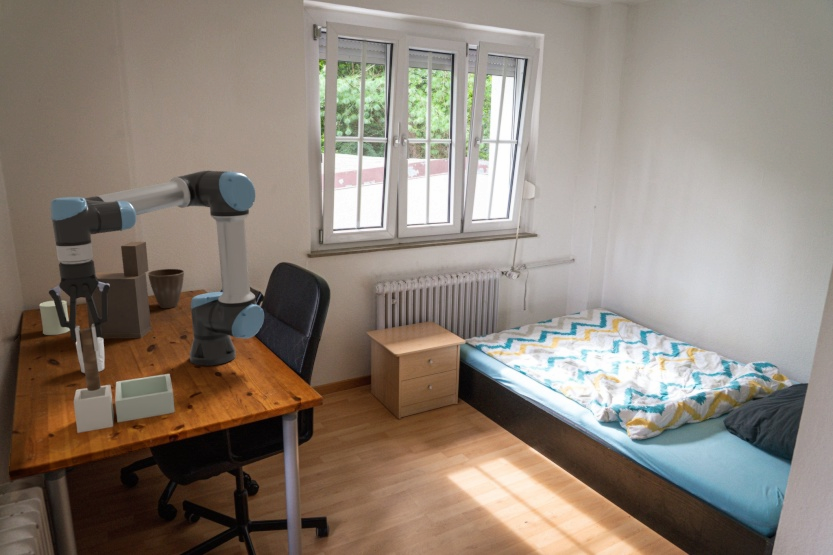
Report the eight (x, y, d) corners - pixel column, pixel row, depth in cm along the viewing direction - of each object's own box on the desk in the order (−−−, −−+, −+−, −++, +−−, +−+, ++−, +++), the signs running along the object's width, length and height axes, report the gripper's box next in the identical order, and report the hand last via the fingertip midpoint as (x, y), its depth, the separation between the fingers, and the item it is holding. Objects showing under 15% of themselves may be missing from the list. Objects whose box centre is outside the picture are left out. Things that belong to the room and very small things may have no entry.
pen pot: (114, 416, 156) (110, 384, 153) (113, 429, 149) (109, 396, 146) (80, 422, 152) (76, 389, 150) (78, 436, 145) (73, 401, 143)
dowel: (100, 385, 150) (92, 327, 146) (100, 389, 148) (92, 331, 144) (87, 387, 149) (79, 329, 145) (87, 391, 146) (78, 332, 143)
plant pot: (180, 300, 271) (177, 267, 268) (191, 307, 260) (188, 272, 257) (147, 305, 262) (143, 271, 258) (156, 312, 251) (153, 277, 247)
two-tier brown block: (155, 326, 232) (147, 241, 224) (141, 337, 218) (132, 248, 210) (107, 326, 231) (97, 241, 223) (89, 338, 217) (78, 247, 209)
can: (68, 333, 222) (64, 304, 219) (40, 336, 219) (36, 306, 216) (72, 326, 231) (68, 298, 228) (45, 329, 227) (41, 300, 224)
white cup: (76, 375, 183) (72, 346, 180) (83, 366, 190) (79, 338, 188) (103, 373, 185) (100, 344, 183) (109, 364, 192) (106, 336, 190)
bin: (171, 395, 169) (169, 373, 167) (175, 415, 157) (172, 392, 155) (118, 404, 163) (116, 381, 161) (117, 425, 151) (115, 401, 149)
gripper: (35, 266, 134) (50, 360, 139) (112, 260, 140) (123, 350, 146) (39, 260, 140) (53, 350, 146) (113, 255, 147) (123, 341, 153)
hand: (88, 350), depth 146 cm, fingers closed on dowel, 3 cm apart
